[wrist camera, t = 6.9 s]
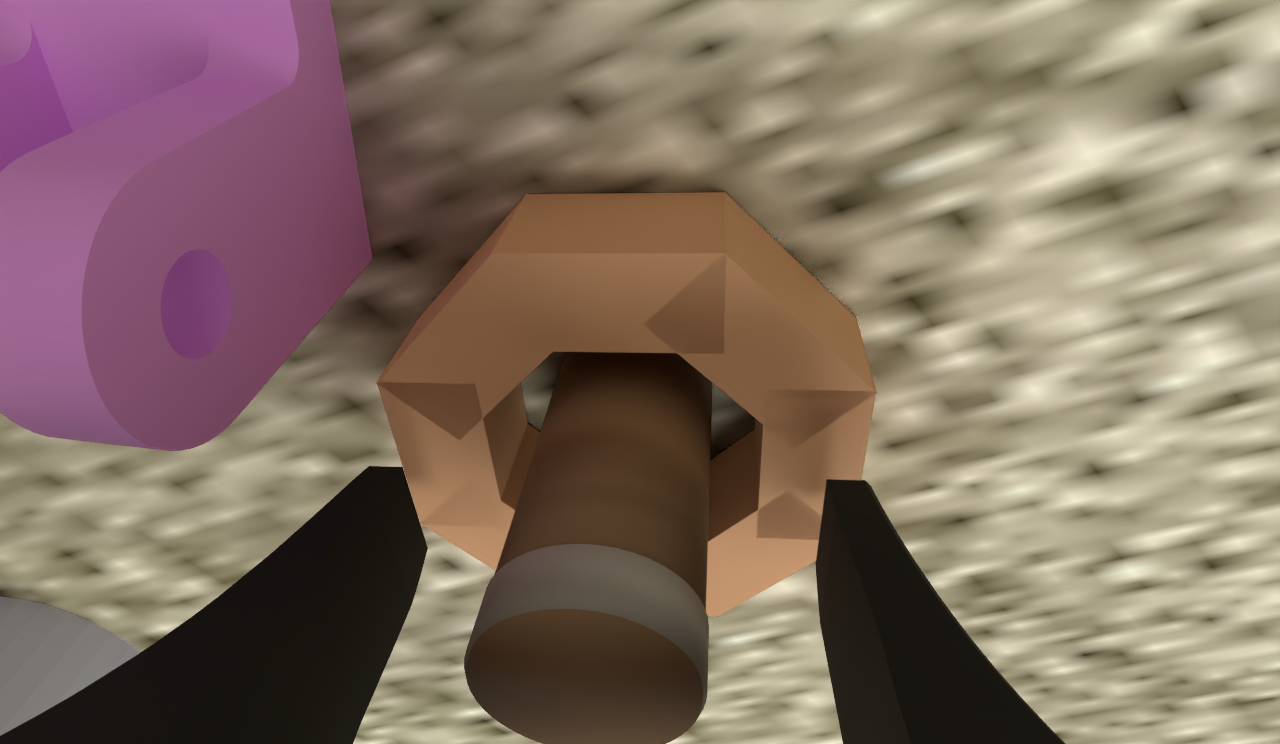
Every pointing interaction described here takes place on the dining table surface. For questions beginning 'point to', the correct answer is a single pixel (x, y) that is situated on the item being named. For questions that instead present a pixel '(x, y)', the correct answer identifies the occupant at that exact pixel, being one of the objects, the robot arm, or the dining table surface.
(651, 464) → the peg
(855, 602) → the robot arm
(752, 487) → the orange flat ring
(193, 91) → the bracket
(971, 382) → the dining table surface
